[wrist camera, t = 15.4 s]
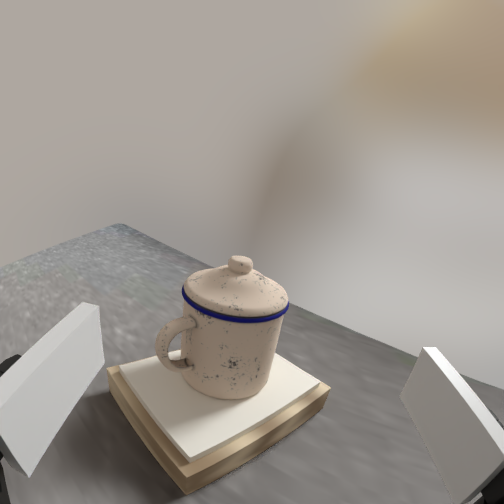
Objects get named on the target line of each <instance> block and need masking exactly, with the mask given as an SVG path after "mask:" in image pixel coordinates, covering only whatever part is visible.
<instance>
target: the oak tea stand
mask: <svg viewBox="0 0 504 504" xmlns="http://www.w3.org/2000/svg"><path fill="white" fill-rule="evenodd" d="M168 356H169V359H170V360H180V357H181V349H179V350H176V351H172V352H168ZM107 375H108V382H109V389H110V392H111V394H112V396H113V397H114V399H115V400H116V402H117V404H118V405H119V407H120V409H121V410H122V412H123V413H124V415H125V416H126V418H127V419H128V421H129V422H130V424H131V425H132V427H133V428H134V430H135V431H136V433H137V434H138V435H139V437H140V438H141V440H142V441H143V442H144V444H145V445H146V447H147V448H148V449H149V451H150V452H151V453H152V455H153V456H154V457H155V459H156V460H157V461H158V462H159V464H160V465H161V466H162V467H163V469H164V470H165V471H166V472H167V474H168V475H169V476H170V477H171V478H172V479H173V481H174V482H175V483H176V484H177V485H178V486H179V488H180V489H181V490H182V491H183V492H184V493H185V494H186V495H188V494H190V493H192V492H194V491H196V490H198V489H200V488H202V487H204V486H206V485H208V484H209V483H211V482H213V481H215V480H217V479H219V478H220V477H222V476H224V475H226V474H228V473H229V472H231V471H233V470H234V469H236V468H238V467H240V466H241V465H243V464H244V463H246V462H248V461H249V460H251V459H253V458H254V457H256V456H257V455H259V454H260V453H262V452H263V451H265V450H266V449H268V448H269V447H271V446H272V445H274V444H275V443H277V442H278V441H280V440H281V439H283V438H284V437H285V436H287V435H288V434H290V433H291V432H292V431H294V430H295V429H296V428H298V427H299V426H300V425H302V424H303V423H304V422H306V421H307V420H308V419H310V418H311V417H312V416H313V415H315V414H316V413H317V412H319V411H320V410H321V409H322V408H323V406H324V403H325V401H326V399H327V396H328V394H329V392H330V389H331V387H329V386H327V385H326V384H324V383H322V382H321V381H319V380H318V379H316V378H314V377H313V376H311V375H309V374H308V373H306V372H305V371H303V370H301V369H300V368H298V367H297V366H295V365H293V364H292V363H290V362H289V361H287V360H285V359H284V358H282V357H281V356H279V355H278V354H276V353H275V354H274V358H273V362H272V366H271V370H270V374H269V378H268V381H267V383H266V385H265V386H264V387H263V388H262V389H261V390H260V391H259V392H257V393H256V394H254V395H252V396H249V397H246V398H241V399H232V400H229V399H219V398H214V397H211V396H208V395H205V394H203V393H201V392H199V391H197V390H196V389H194V388H193V387H192V386H190V385H189V384H188V383H187V382H186V380H185V379H184V377H183V375H182V373H181V372H173V371H170V370H169V369H167V368H166V367H165V366H164V365H163V364H162V363H161V362H160V360H159V359H158V357H157V356H153V357H150V358H146V359H142V360H138V361H134V362H130V363H126V364H122V365H118V366H113V367H109V368H107Z"/></svg>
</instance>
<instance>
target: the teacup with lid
mask: <svg viewBox="0 0 504 504" xmlns="http://www.w3.org/2000/svg"><path fill="white" fill-rule="evenodd" d="M252 266H253V262H252V260H251V259H249V258H247V257H244V256H232V257H231V258H230V259H229V262H228V265H224V266H220V267H217V268H215V269H206V270H201V271H198V272H196V273H194V274H192V275H190V276H189V277H188V278H187V280H186V281H185V283H184V285H183V287H182V295H183V298H184V307H183V317H181V318H177V319H174V320H172V321H170V322H169V323H167V324H166V325H165V326H164V327H163V328H162V329H161V330H160V332H159V333H158V335H157V338H156V343H155V349H156V354H157V357H158V359H159V360H160V362H161V363H162V364H163V365H164V366H165V367H166V368H167V369H169V370H170V371H173V372H181V373H182V375H183V377H184V379H185V380H186V382H187V383H188V384H189V385H190V386H192V387H193V388H194V389H196V390H197V391H199V392H201V393H203V394H205V395H208V396H211V397H214V398H219V399H229V400H232V399H241V398H246V397H249V396H252V395H254V394H256V393H257V392H259V391H260V390H261V389H262V388H263V387H264V386H265V385H266V383H267V381H268V378H269V374H270V370H271V366H272V362H273V358H274V354H275V350H276V346H277V342H278V337H279V333H280V329H281V325H282V320H283V316H284V314H285V313H286V311H287V310H288V307H289V301H288V296H287V294H286V291H285V290H284V289H283V287H282V286H280V285H279V284H278V283H276V282H275V281H273V280H271V279H269V278H267V277H265V276H263V275H262V274H260V273H259V272H258V271H256V270H254V269H252ZM180 332H182V338H181V357H180V360H170V359H169V356H168V347H169V344H170V342H171V340H172V339H173V338H174V337H175V336H176V335H177V334H179V333H180Z"/></svg>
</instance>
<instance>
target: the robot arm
mask: <svg viewBox="0 0 504 504" xmlns="http://www.w3.org/2000/svg"><path fill="white" fill-rule="evenodd" d="M104 363H105V361H104V354H103V346H102V337H101V327H100V315H99V306H97V305H93V304H89V303H85V302H82V303H81V304H80V305H79V306H77V307H76V308H75V309H74V310H73V311H72V312H70V313H69V314H68V315H67V316H66V317H65V318H63V319H62V320H61V321H60V322H59V323H58V324H57V325H56V326H54V327H53V328H52V329H51V330H50V331H49V332H48V333H47V334H45V335H44V336H43V337H42V338H41V339H40V340H39V341H38V342H37V343H36V344H35V345H33V346H32V347H31V348H30V349H29V350H28V351H27V352H26V353H25V354H24V355H23V356H20V355H18V354H17V355H15V356H12V357H10V358H8V359H6V360H5V361H3V362H2V363H1V364H0V460H1V459H2V457H3V456H4V458H5V459H6V460H7V462H8V463H9V465H10V466H11V467H12V468H14V469H16V470H17V471H19V472H20V473H22V474H24V475H25V476H27V477H29V478H30V476H31V474H32V472H33V471H34V469H35V467H36V466H37V464H38V462H39V461H40V459H41V458H42V456H43V454H44V453H45V451H46V449H47V448H48V446H49V445H50V443H51V442H52V440H53V438H54V437H55V435H56V434H57V432H58V431H59V429H60V427H61V426H62V424H63V423H64V421H65V420H66V418H67V417H68V415H69V414H70V412H71V411H72V409H73V408H74V406H75V405H76V403H77V402H78V400H79V399H80V397H81V396H82V394H83V393H84V392H85V390H86V389H87V387H88V386H89V384H90V383H91V381H92V380H93V379H94V377H95V376H96V374H97V373H98V371H99V370H100V369H101V367H102V366H103V364H104ZM399 397H400V399H401V401H402V402H403V404H404V406H405V408H406V410H407V412H408V413H409V415H410V417H411V419H412V421H413V423H414V425H415V426H416V428H417V430H418V432H419V434H420V436H421V438H422V440H423V442H424V444H425V446H426V448H427V449H428V451H429V453H430V455H431V457H432V459H433V461H434V463H435V465H436V467H437V469H438V472H439V474H440V476H441V478H442V480H443V482H444V484H445V486H446V488H447V490H448V492H449V495H450V497H451V499H452V501H453V503H454V504H465V503H467V502H469V501H471V500H472V499H473V498H474V497H475V496H476V495H477V494H478V493H479V492H481V493H482V495H483V496H482V497H481V498H479V499H478V500H477V501H476V502H475V503H474V504H504V428H503V425H502V423H501V422H500V421H498V420H499V419H498V418H497V417H496V416H495V414H494V413H493V412H492V411H491V410H490V409H489V408H487V407H486V406H485V405H484V404H483V403H482V401H481V400H480V399H479V398H478V396H477V395H476V394H475V393H474V391H473V390H472V389H471V388H470V387H469V385H468V384H467V383H466V382H465V381H464V379H463V378H462V377H461V376H460V375H459V373H458V372H457V371H456V370H455V369H454V368H453V367H452V365H451V364H450V363H449V362H448V361H447V359H446V358H445V357H444V356H443V355H442V354H441V353H440V351H439V350H438V349H437V348H436V347H423V348H422V350H421V353H420V355H419V357H418V359H417V361H416V364H415V366H414V368H413V370H412V372H411V374H410V376H409V378H408V380H407V382H406V384H405V386H404V388H403V390H402V392H401V394H400V396H399ZM0 504H11V503H10V499H9V495H8V491H7V487H6V482H5V477H4V472H3V467H2V465H1V462H0Z"/></svg>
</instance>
